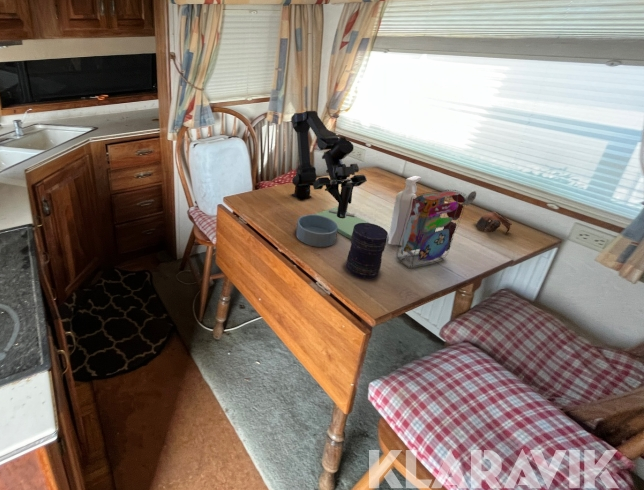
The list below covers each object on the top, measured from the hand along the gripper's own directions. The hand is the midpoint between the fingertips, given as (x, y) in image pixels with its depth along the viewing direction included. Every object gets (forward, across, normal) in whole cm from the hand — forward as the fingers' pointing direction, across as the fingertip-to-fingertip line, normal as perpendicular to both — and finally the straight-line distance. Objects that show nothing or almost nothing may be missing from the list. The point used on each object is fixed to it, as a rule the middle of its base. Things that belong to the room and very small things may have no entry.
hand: (345, 203), depth 130 cm
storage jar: (+24, -4, -5) cm, 25 cm away
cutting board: (+4, +6, +15) cm, 17 cm away
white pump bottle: (+15, +18, +4) cm, 24 cm away
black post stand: (+3, 0, +5) cm, 6 cm away
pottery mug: (+14, +59, +5) cm, 61 cm away
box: (+22, +23, -3) cm, 32 cm away
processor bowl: (+9, -10, +10) cm, 16 cm away
